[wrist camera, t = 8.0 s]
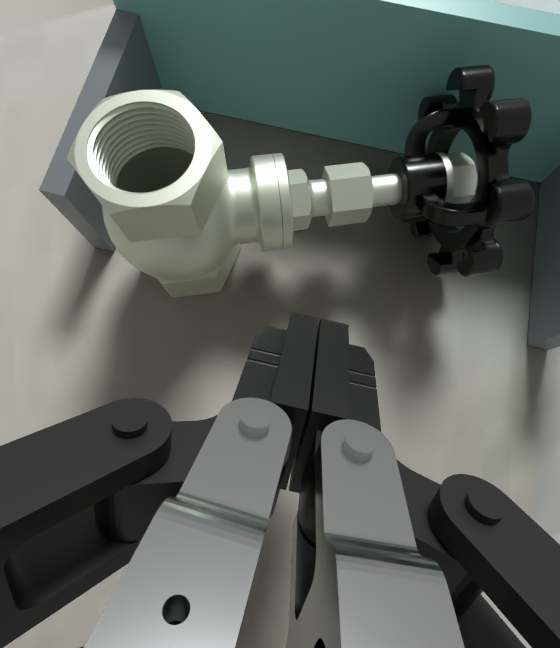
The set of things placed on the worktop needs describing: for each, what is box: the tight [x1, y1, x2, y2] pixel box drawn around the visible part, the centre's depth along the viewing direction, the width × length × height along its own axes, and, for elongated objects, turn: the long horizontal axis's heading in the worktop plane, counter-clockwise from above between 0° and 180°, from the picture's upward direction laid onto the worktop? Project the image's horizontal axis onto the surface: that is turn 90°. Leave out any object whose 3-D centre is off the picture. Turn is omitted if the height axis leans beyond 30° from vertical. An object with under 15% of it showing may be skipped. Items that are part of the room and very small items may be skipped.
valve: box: [67, 65, 534, 297], centre depth 13 cm, size 7×7×12 cm
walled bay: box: [39, 0, 560, 350], centre depth 14 cm, size 18×8×6 cm, turn 77°
